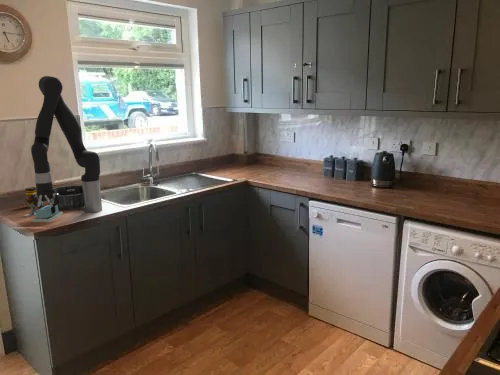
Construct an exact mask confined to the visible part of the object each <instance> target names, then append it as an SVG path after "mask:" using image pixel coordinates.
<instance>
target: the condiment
mask: <svg viewBox="0 0 500 375" xmlns="http://www.w3.org/2000/svg"><path fill="white" fill-rule="evenodd" d="M34 193H35V194H36V193H37V190H36V186H35V187H33V186H32V187H31V186H30V187H26V188H25V193H24V194H25V202H26V208H27V209H31V206H28V204H34V203H33V200H32V197H31V195H32V194H34ZM37 199H38V200H39V197H38V196H37ZM35 208H38V206H35Z"/></svg>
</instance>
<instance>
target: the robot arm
mask: <svg viewBox="0 0 500 375" xmlns="http://www.w3.org/2000/svg"><path fill="white" fill-rule="evenodd" d="M63 87H64V85H63V83H62V81H61V80H60V79H59V78H57V77H55V76H50V75H44V76H41V77H40V79H39V80H38V89H39V90H40V92H41V94H42V95H43V103H42V106H41V108H40V111H39V113H38V115H37V119H36V122H35V123H36V124H35V128H34V134H35V136H34V141H33V144H32V145H31V147H30V148H31V149H30V151H31V158H32V161H33V169H34V181H35V188H36V192H37V193H36V194H35V193H34V194H32V195H31V197H32V200H33V203H34V205H35V206H38V207H37V208H38V209H40V208H43V207H44V206H43V203H44V202H47V203H48V204H49V203H50V204H49V205H51V212H52V214H54V213H55V212H56V208H55V206H56V205H58V204H59V193H58V194H55V193H53V189H54V187H53V180H52V177H53V176H52V173H51V167H50V162H49V158H48V151H49V147H50V146H49V145H50V136H51V132H52V128H53V123H54V122H53V120H54V117H55V120H56V121H57V123H58V125H59V127H60V129H61V132H62V133H63V135H64V137H65V139H66V141H67V143H68V145H69V146H70V150H71V152H72V154H73V156H74V159H75V162H76V163H77V165H78V166H79V167H80V168H84V174H82V175H81V177H80V180H81V185H82V191H83V200H84V207H83V208H84V209H83V210H84V212H85V213H97V212H101V211H103V205H102V204H103V203H102V194H101V183H100V175H101V160H100V156H99V154H98V153H97V152H96V151H91V150H87V148H86V146H85V145H84V142H83V139H82V127H81V124H80V122H79V121H78V118H77V116H76V114H75V113H74V111H73V110H72V109H71V107H70V106H69V105H68V103H66V101H65V99H64V98H63V95H62V93H63V92H62V91H63ZM37 196H38V199H37ZM53 196H54V198H55V199H53V198H52V197H53Z"/></svg>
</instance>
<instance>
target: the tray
mask: <svg viewBox="0 0 500 375" xmlns="http://www.w3.org/2000/svg"><path fill="white" fill-rule="evenodd" d="M63 215H64V212H63V211H59V212H58V213H56V214H54V215H52V216H50V217H48V218H37V216H35V217H34V218H32V219H31V221H32V223H51V222H52V221H54V220H56V219H58V218H59V217H61V216H63Z"/></svg>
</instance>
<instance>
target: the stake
mask: <svg viewBox="0 0 500 375" xmlns="http://www.w3.org/2000/svg"><path fill="white" fill-rule="evenodd" d="M28 206H31V208H30V211H29V212H28V213H26V214H24V215H22V217H37V215H36V207H35V205H34V204H28Z"/></svg>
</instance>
